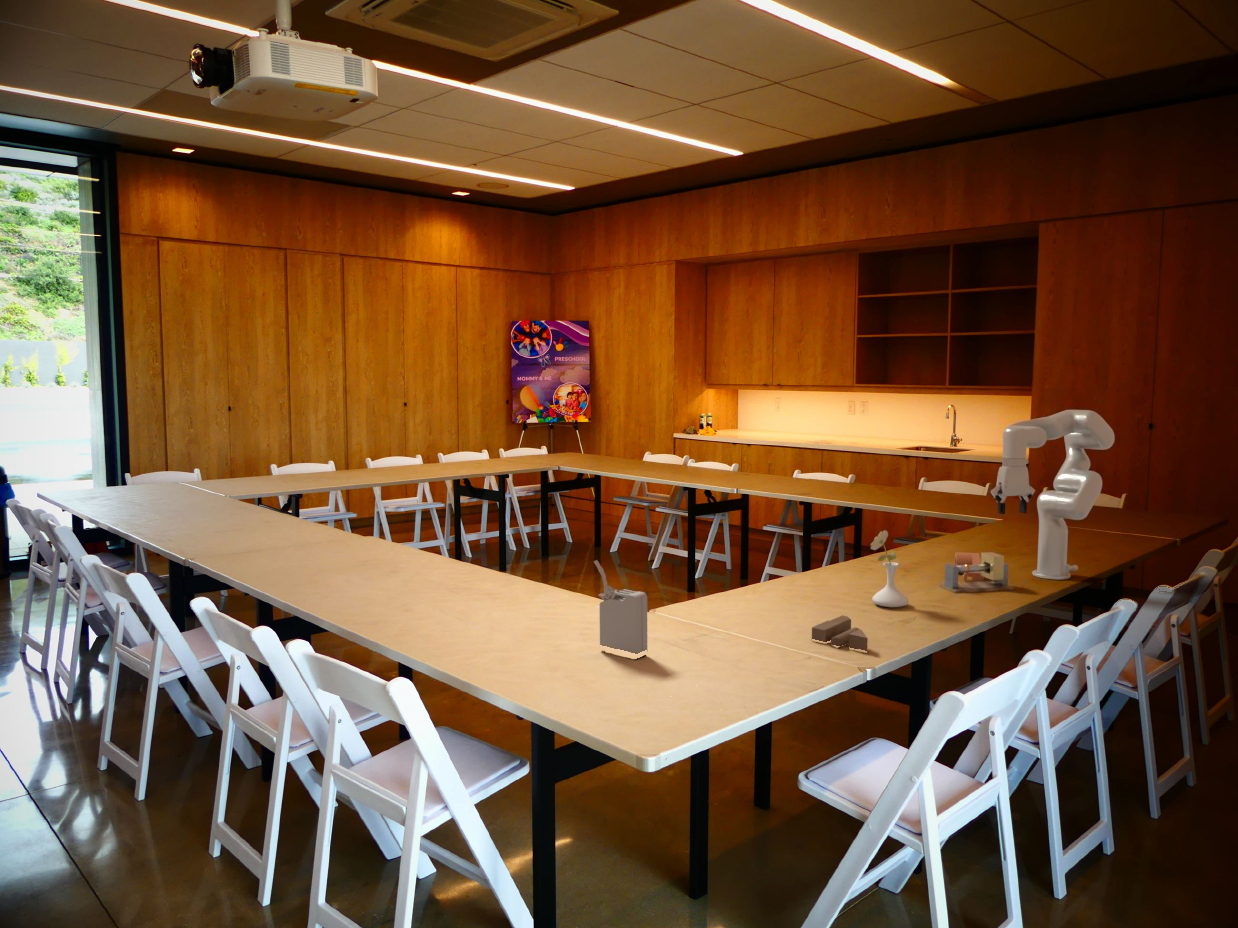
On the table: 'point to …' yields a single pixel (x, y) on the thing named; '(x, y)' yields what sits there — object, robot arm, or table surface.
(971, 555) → the crank
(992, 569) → the collar
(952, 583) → the pipe rail
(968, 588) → the base board
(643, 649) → the jerry can
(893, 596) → the flower in vase
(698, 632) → the table surface
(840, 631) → the wooden block set
